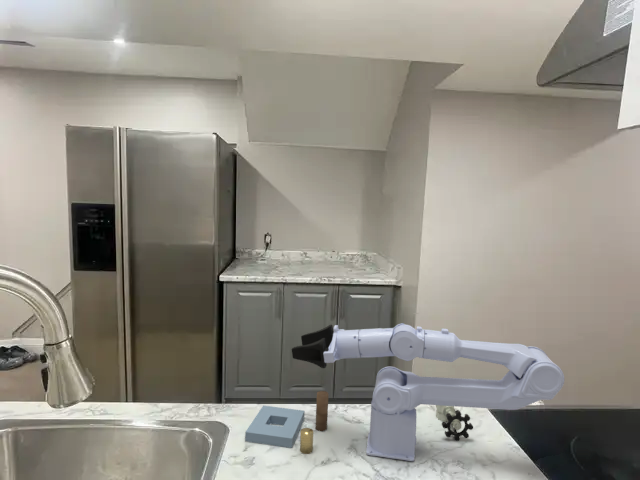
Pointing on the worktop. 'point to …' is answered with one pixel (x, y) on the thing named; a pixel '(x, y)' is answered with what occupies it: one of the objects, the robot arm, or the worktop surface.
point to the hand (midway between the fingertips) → (297, 346)
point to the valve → (453, 421)
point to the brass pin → (306, 441)
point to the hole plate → (275, 434)
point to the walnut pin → (321, 411)
